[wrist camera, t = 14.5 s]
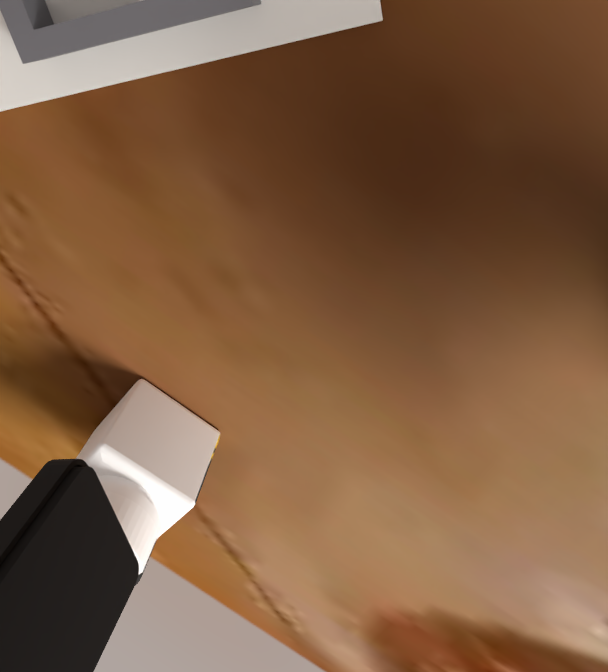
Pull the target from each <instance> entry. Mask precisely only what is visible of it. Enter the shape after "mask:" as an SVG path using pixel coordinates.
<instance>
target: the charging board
mask: <svg viewBox="0 0 608 672" xmlns="http://www.w3.org/2000/svg"><path fill="white" fill-rule="evenodd" d="M379 21H383V17H382V10H381V2H380V0H0V111H4V110H8V109H13V108H17V107H21V106H25V105H29V104H34V103H38V102H42V101H46V100H51V99H55V98H59V97H63V96H67V95H72V94H76V93H80V92H84V91H88V90H93V89H97V88H101V87H105V86H109V85H114V84H118V83H122V82H126V81H131V80H135V79H139V78H143V77H147V76H152V75H156V74H160V73H164V72H168V71H173V70H177V69H181V68H185V67H189V66H194V65H198V64H202V63H206V62H211V61H215V60H219V59H223V58H227V57H232V56H236V55H240V54H244V53H248V52H253V51H257V50H261V49H265V48H269V47H274V46H278V45H282V44H286V43H291V42H295V41H299V40H303V39H307V38H312V37H316V36H320V35H324V34H328V33H333V32H337V31H341V30H345V29H350V28H354V27H358V26H362V25H366V24H371V23H375V22H379Z"/></svg>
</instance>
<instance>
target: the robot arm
mask: <svg viewBox="0 0 608 672" xmlns="http://www.w3.org/2000/svg"><path fill="white" fill-rule="evenodd" d="M138 575H139V563H138V560H137V558H136V556H135V554H134V552H133V550H132V548H131V545H130V543H129V541H128V539H127V537H126V535H125V533H124V531H123V529H122V527H121V524H120V522H119V520H118V518H117V516H116V514H115V512H114V510H113V508H112V506H111V503H110V501H109V499H108V497H107V495H106V493H105V491H104V489H103V487H102V485H101V482H100V480H99V478H98V476H97V474H96V472H95V470H94V469H93V468H92V467H89V466H88V465H87V463H86V462H85V461H84V460H82V459H59V460H51V461H49V462H47V463H46V464H45V465H44V466H43V468H42V469H41V470H40V471H39V473H38V474H37V475H36V476H35V478H34V479H33V480H32V481H31V483H30V484H29V485H28V486H27V488H26V489H25V490H24V491H23V493H22V494H21V495H20V496H19V498H18V499H17V500H16V501H15V503H14V504H13V505H12V506H11V508H10V509H9V510H8V511H7V513H6V514H5V515H4V516H3V518H2V519H1V520H0V672H93V671H94V669H95V667H96V665H97V663H98V661H99V659H100V657H101V655H102V652H103V650H104V648H105V646H106V644H107V642H108V640H109V638H110V636H111V634H112V632H113V630H114V628H115V626H116V623H117V621H118V619H119V617H120V615H121V613H122V611H123V609H124V607H125V605H126V602H127V601H128V598H129V596H130V594H131V592H132V590H133V588H134V586H135V584H136V582H137V579H138Z"/></svg>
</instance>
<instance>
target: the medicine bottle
mask: <svg viewBox="0 0 608 672" xmlns="http://www.w3.org/2000/svg"><path fill="white" fill-rule="evenodd" d="M219 438H220V432H219V431H218V430H217V429H215V428H214V427H212V426H211V425H209V424H208V423H206V422H205V421H204V420H202V419H201V418H199V417H198V416H196V415H195V414H193V413H192V412H191V411H189V410H188V409H186V408H185V407H183V406H182V405H180V404H179V403H178V402H176V401H175V400H173V399H172V398H170V397H169V396H167V395H166V394H165V393H163V392H162V391H160V390H159V389H157V388H156V387H154V386H153V385H152V384H150V383H149V382H147V381H146V380H144V379H140V380H138V381H137V382H136V383H135V384H134V385H133V386H132V388H131V389H130V390H129V391H128V392H127V393H126V395H125V396H124V397H123V398H122V399H121V400H120V401H119V403H118V404H117V405H116V406H115V407H114V408H113V410H112V411H111V412H110V413H109V414H108V415H107V416H106V418H105V419H104V420H103V421H102V422H101V423H100V425H99V426H98V427H97V428H96V429H95V430H94V432H93V433H92V435H91V436H90V438H89V439H88V441H87V442H86V444H85V445H84V447H83V448H82V450H81V452H80V453H79V455H78V456H77V458H76V459H82V460H84V461H85V462H86V463H87V465H88V466H89V467H92V468H93V469H94V470H95V472H96V474H97V476H98V478H99V480H100V482H101V485H102V487H103V489H104V491H105V493H106V495H107V497H108V499H109V501H110V503H111V506H112V508H113V510H114V512H115V514H116V516H117V518H118V520H119V522H120V524H121V527H122V529H123V531H124V533H125V535H126V537H127V539H128V541H129V543H130V545H131V548H132V550H133V552H134V554H135V556H136V558H137V560H138V563H139V575H138V579H137V582H136V584H137V583H138V582H139V581H140V578H141V577H142V574H143V572H144V569H145V567H146V565H147V562H148V560H149V557H150V555H151V553H152V550H153V548H154V545H155V543H156V541H157V538H158V537H159V536H161V535H162V534H163V533H164V532H165V531H166V530H168V529H169V528H170V527H171V526H172V525H173V524H174V523H176V522H177V521H178V520H179V519H180V518H181V517H182V516H184V515H185V514H186V513H187V512H188V511H189V510H191V509H192V508H193V507H194V505H195V503H196V501H197V498H198V495H199V493H200V490H201V487H202V484H203V482H204V479H205V476H206V474H207V471H208V468H209V465H210V463H211V460H212V457H213V455H214V452H215V449H216V446H217V444H218V441H219ZM136 584H135V585H136Z"/></svg>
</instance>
